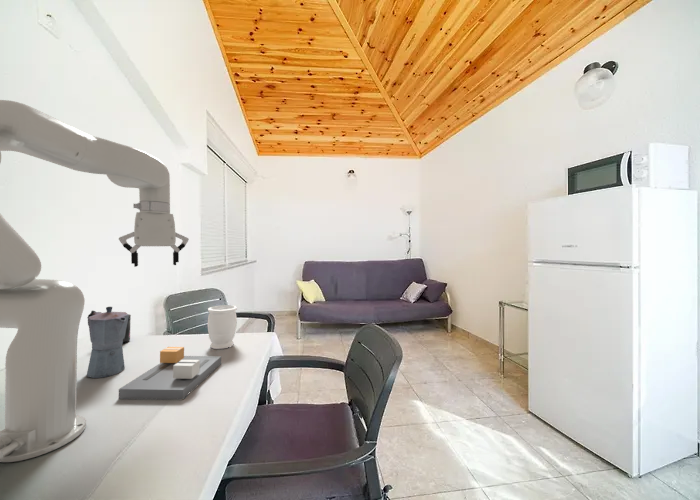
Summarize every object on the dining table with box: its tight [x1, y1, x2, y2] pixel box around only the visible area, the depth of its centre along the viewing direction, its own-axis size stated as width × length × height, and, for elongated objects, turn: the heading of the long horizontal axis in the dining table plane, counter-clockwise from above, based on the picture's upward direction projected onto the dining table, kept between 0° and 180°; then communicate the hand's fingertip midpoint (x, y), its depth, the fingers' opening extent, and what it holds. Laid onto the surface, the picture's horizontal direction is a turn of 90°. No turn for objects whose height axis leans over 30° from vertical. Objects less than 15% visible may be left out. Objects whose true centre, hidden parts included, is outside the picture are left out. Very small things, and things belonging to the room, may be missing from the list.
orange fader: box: [159, 346, 185, 364], centre depth 88 cm, size 4×5×4 cm
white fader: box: [173, 360, 200, 379], centre depth 78 cm, size 4×5×4 cm
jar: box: [207, 304, 238, 350], centre depth 110 cm, size 11×10×15 cm
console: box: [118, 355, 222, 401], centre depth 82 cm, size 22×16×3 cm
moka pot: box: [86, 306, 130, 379], centre depth 85 cm, size 10×15×20 cm, turn 78°
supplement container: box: [122, 313, 132, 345], centre depth 111 cm, size 7×7×10 cm
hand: (156, 265), depth 85 cm, fingers open, 9 cm apart
